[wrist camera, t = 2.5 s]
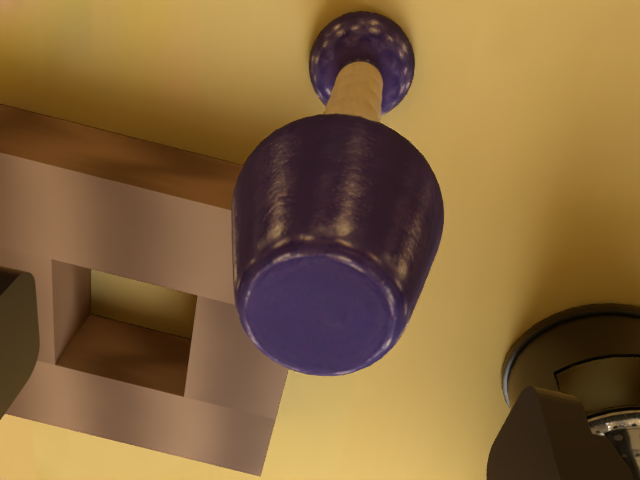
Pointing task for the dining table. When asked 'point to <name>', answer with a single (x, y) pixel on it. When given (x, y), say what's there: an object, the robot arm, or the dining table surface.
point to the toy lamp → (337, 212)
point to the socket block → (142, 265)
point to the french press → (576, 348)
